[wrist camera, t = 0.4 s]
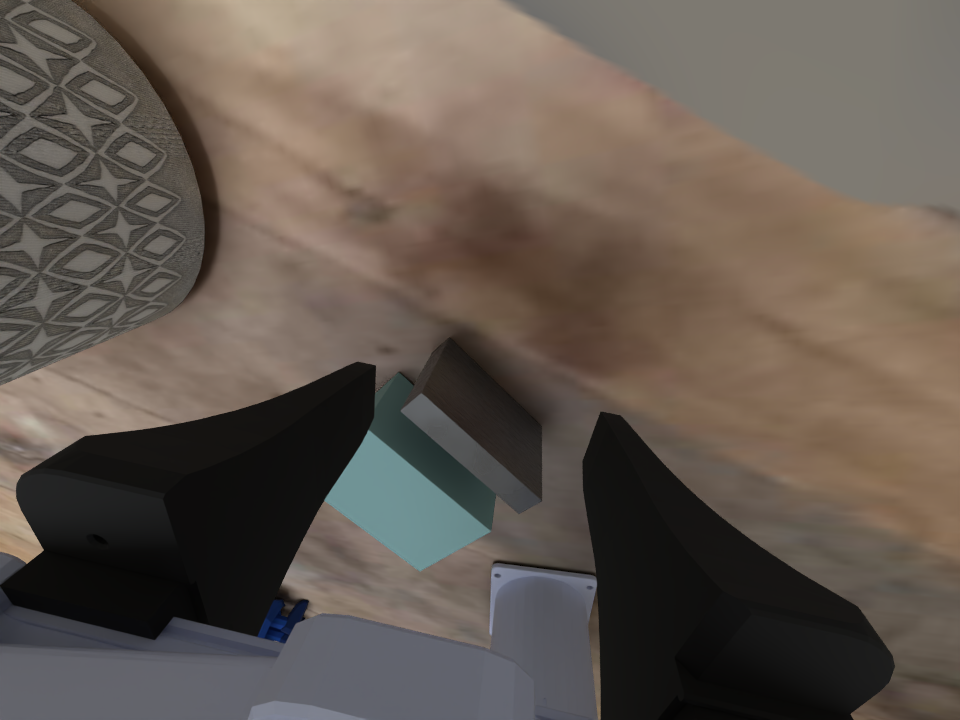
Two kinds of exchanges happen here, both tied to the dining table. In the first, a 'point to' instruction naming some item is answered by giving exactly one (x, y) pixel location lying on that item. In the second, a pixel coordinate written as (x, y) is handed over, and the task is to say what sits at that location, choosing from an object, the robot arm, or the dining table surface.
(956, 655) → the dining table surface
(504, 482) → the wall
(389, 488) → the block
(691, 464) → the dining table surface
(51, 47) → the planter
